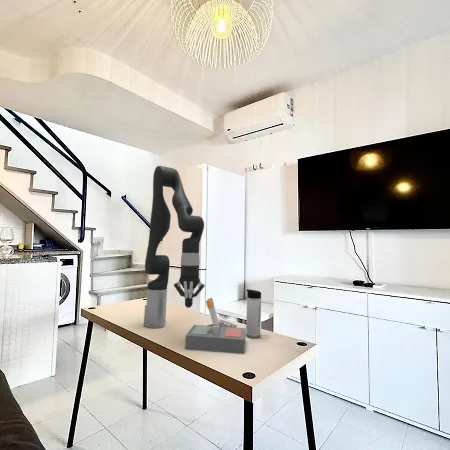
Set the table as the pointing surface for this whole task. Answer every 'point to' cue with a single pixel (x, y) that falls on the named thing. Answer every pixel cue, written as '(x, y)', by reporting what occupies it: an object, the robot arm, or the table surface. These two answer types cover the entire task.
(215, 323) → the breaker lever
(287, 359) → the table surface
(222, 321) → the graphics card
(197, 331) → the breaker base
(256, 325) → the travel mug
